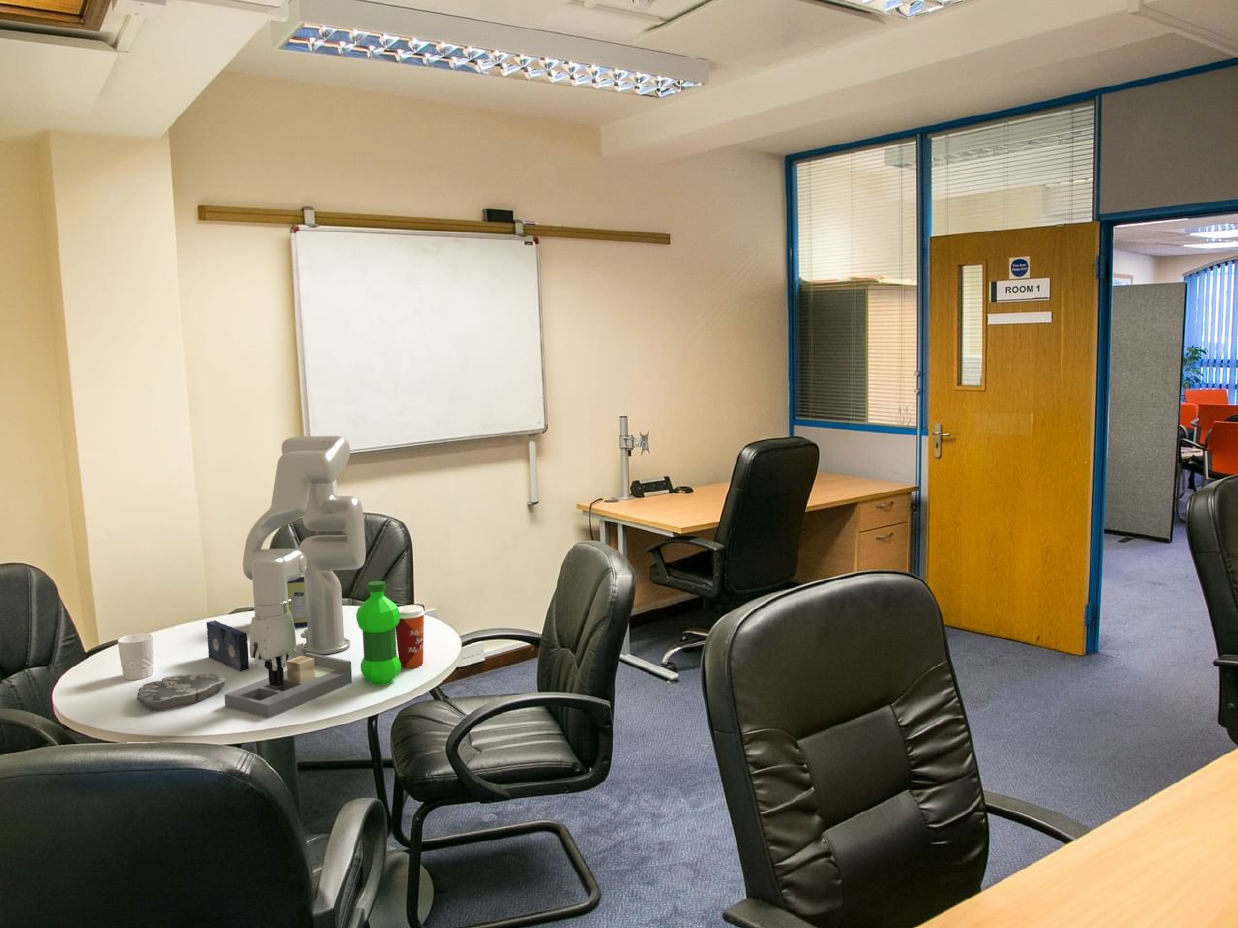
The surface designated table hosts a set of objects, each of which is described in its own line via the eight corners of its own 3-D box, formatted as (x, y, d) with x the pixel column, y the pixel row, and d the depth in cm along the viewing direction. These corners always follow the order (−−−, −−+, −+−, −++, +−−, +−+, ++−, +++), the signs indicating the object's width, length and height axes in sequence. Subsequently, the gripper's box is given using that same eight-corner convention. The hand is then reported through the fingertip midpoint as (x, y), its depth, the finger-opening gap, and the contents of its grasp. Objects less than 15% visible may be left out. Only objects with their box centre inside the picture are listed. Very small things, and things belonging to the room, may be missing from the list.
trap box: (225, 706, 215) (223, 683, 214) (309, 673, 236) (308, 652, 236) (269, 718, 208) (267, 694, 207) (352, 682, 229) (350, 661, 228)
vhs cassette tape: (250, 669, 241) (247, 632, 239) (238, 672, 239) (236, 635, 237) (219, 655, 253) (216, 619, 252) (208, 657, 251) (205, 622, 250)
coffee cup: (419, 670, 237) (417, 613, 235) (389, 669, 239) (386, 612, 237) (432, 659, 245) (430, 604, 243) (403, 658, 247) (400, 603, 245)
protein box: (264, 621, 285) (260, 571, 283) (317, 616, 289) (314, 568, 287) (259, 630, 275) (255, 579, 273) (314, 626, 278) (311, 575, 277)
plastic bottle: (381, 691, 223) (376, 590, 220) (351, 684, 228) (345, 585, 225) (411, 678, 231) (406, 580, 228) (381, 671, 237) (376, 576, 234)
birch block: (287, 679, 224) (286, 661, 223) (302, 673, 228) (301, 655, 227) (300, 682, 222) (299, 663, 221) (315, 676, 225) (314, 658, 225)
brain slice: (196, 679, 235) (195, 668, 234) (235, 692, 225) (234, 680, 225) (118, 704, 219) (117, 691, 219) (156, 719, 209) (155, 706, 209)
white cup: (162, 672, 240) (159, 634, 239) (137, 682, 233) (134, 643, 231) (139, 669, 243) (135, 632, 241) (113, 679, 235) (110, 641, 234)
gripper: (286, 599, 224) (291, 672, 227) (233, 615, 211) (239, 692, 214) (308, 602, 221) (312, 677, 223) (255, 619, 208) (261, 697, 210)
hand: (276, 684), depth 218 cm, fingers closed
